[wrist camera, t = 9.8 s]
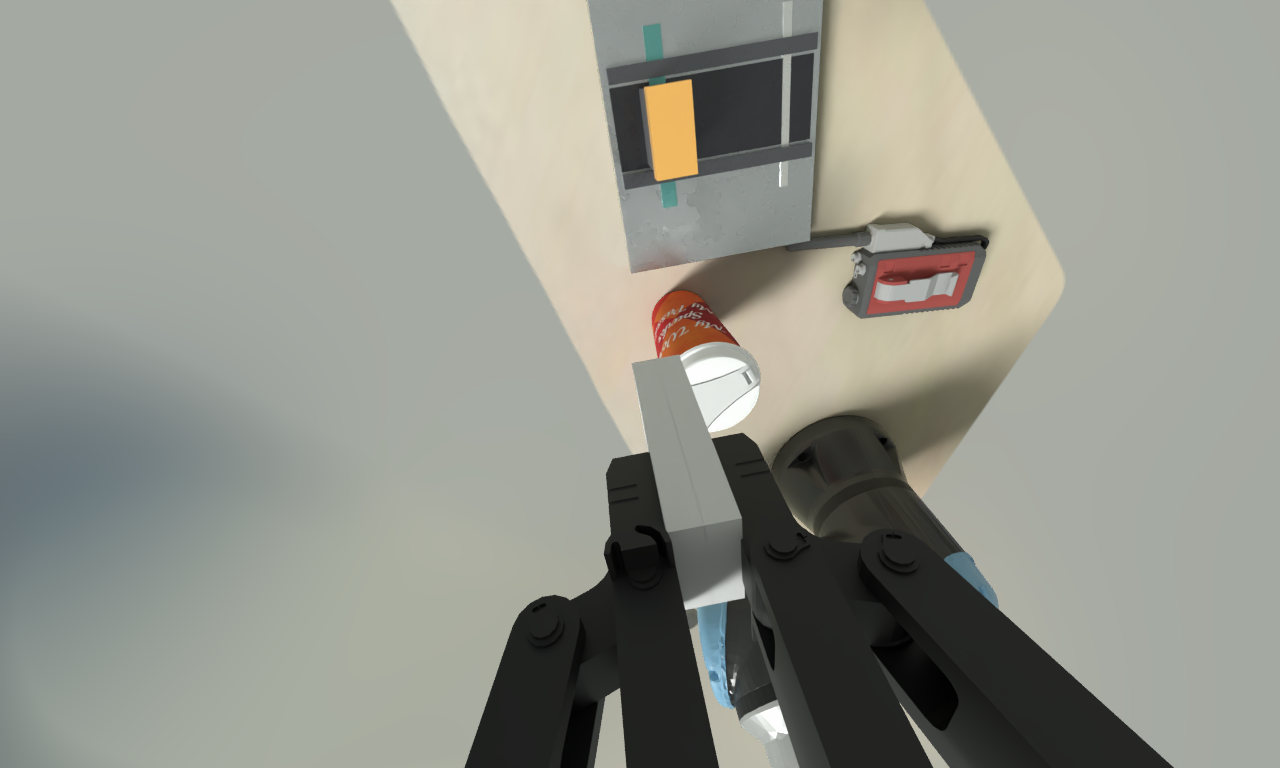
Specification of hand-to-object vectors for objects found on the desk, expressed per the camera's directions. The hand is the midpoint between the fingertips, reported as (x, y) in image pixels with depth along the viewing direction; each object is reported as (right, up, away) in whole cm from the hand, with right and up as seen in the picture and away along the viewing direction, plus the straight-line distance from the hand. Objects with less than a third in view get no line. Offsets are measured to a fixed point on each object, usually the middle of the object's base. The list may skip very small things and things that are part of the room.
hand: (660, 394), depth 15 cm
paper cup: (+3, +7, +31) cm, 32 cm away
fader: (+1, +20, +20) cm, 28 cm away
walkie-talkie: (+22, +12, +32) cm, 41 cm away
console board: (+5, +22, +22) cm, 31 cm away
